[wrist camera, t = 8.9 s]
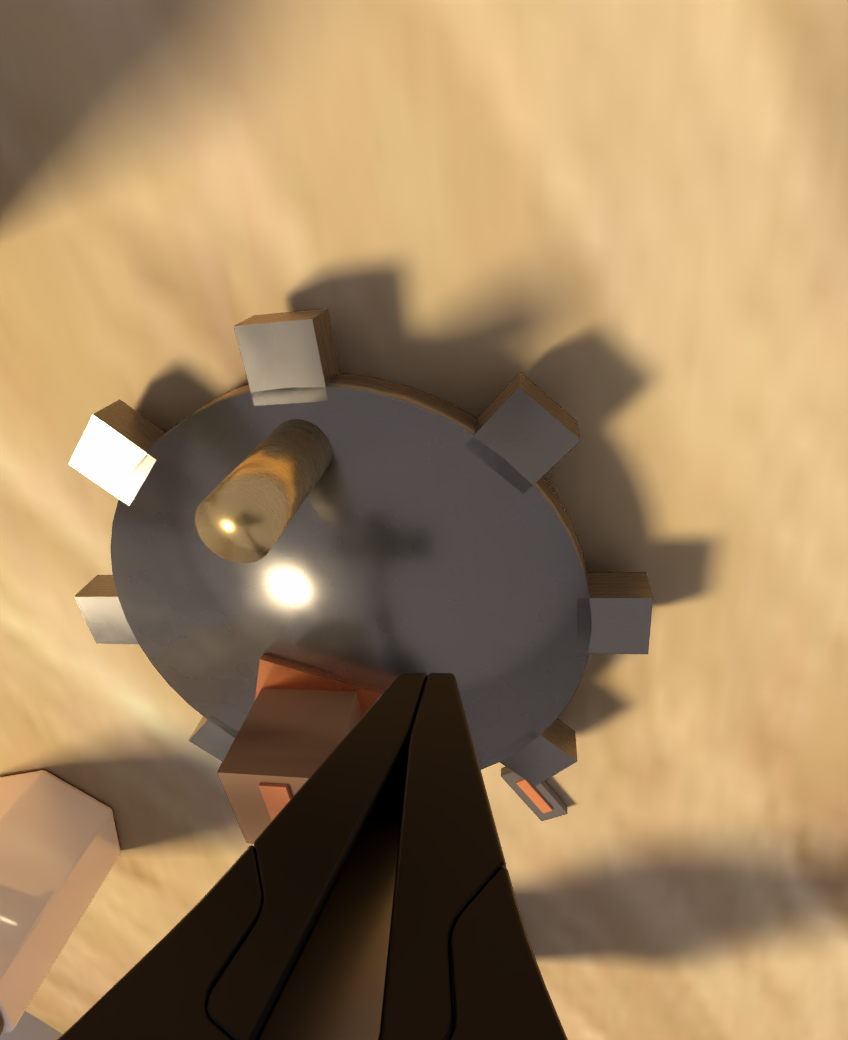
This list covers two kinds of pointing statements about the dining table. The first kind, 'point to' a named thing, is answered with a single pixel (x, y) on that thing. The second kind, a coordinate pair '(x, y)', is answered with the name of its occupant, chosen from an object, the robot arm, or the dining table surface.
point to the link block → (282, 750)
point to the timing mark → (536, 796)
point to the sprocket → (354, 548)
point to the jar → (45, 877)
